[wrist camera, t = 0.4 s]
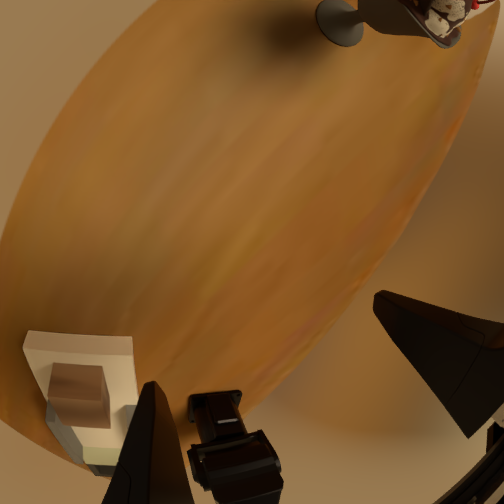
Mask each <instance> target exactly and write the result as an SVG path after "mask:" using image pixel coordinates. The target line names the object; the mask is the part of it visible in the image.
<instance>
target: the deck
mask: <svg viewBox="0 0 504 504" xmlns="http://www.w3.org/2000/svg"><path fill="white" fill-rule="evenodd" d="M22 349H23V351H24V354H25V356H26V359H27V361H28V363H29V366H30V368H31V370H32V372H33V375H34V377H35V379H36V381H37V383H38V385H39V387H40V389H41V391H42V393H43V395H44V397H45V399H46V401H48V397H47V394H48V388H49V382H50V376H51V371H52V366H53V362H55V363H66V364H79V365H96V366H102V367H103V371H104V375H105V380H106V384H107V388H108V391H109V395H110V419H111V429H102V428H86V427H75V426H71V427H72V429H73V431H74V433H75V434H76V436H77V438H78V439H79V441H80V443H81V444H82V446H83V460H84V461H85V463H86V464H95V465H113V466H116V464H117V462H119V461H118V458H119V455H120V452H121V449H122V446H123V443H124V439H125V437H126V434H127V431H128V429H127V419H126V406H125V405H137V402H138V399H139V395H138V388H137V381H136V372H135V364H134V354H133V342H132V336H99V335H80V334H65V333H53V332H42V331H32V330H28V333H27V335H26V338H25V341H24V344H23V347H22Z"/></svg>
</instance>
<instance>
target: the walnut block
mask: <svg viewBox="0 0 504 504" xmlns="http://www.w3.org/2000/svg"><path fill="white" fill-rule="evenodd" d="M47 397H48V399H49V401H50V403H51V405H52V406H53V408H54V410H55V412H56V414H57V416H58V417H59V419H60V421H61V422H62V424H63V425H65V426H75V427H86V428H102V429H111V419H110V395H109V391H108V388H107V384H106V380H105V375H104V371H103V367H102V366H96V365H79V364H66V363H55V362H53V366H52V371H51V376H50V382H49V388H48V394H47Z"/></svg>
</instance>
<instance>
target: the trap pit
mask: <svg viewBox="0 0 504 504" xmlns="http://www.w3.org/2000/svg"><path fill="white" fill-rule="evenodd" d="M87 465H88V467H89V468H90V469H91V471H92V472H93V473H94V475H95V476H105V477H112V476H113V473H114V470H115V467H116V466H113V465H95V464H87Z"/></svg>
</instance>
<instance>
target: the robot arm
mask: <svg viewBox="0 0 504 504" xmlns="http://www.w3.org/2000/svg"><path fill="white" fill-rule="evenodd" d="M373 311H374V314H375V315H376V317H377V318H378V319H379V321H380V323H381V324H382V326H383V327H384V329H385V330H386V332H387V333H388V335H389V336H390V338H391V339H392V341H393V342H394V343H395V344H396V346H397V347H398V348H399V349H400V351H401V352H402V353H403V354H404V355H405V357H406V358H407V359H408V360H409V362H410V363H411V364H412V365H413V367H414V368H415V369H416V370H417V372H418V373H419V374H420V375H421V377H422V378H423V379H424V381H425V382H426V383H427V385H428V386H429V387H430V388H431V390H432V391H433V392H434V394H435V395H436V396H437V397H438V399H439V400H440V402H441V403H442V404H443V405H444V406H445V408H446V410H447V411H448V412H449V414H450V415H451V417H452V418H453V419H454V421H455V422H456V423H457V425H458V426H459V428H460V429H461V430H462V432H463V433H464V435H465V436H466V437H467V438H468V439H469V438H470V437H471V436H472V435H473V434H474V433H475V432H476V431H477V430H478V429H479V428H481V426H482V425H484V424H485V423H486V421H487V420H488V419H489V418H490V417H492V418H493V419H494V420H495V421H494V423H493V424H492V425H491V426H490V427H489V428H488V429H487V446H486V454H485V456H484V457H483V458H482V459H481V460H480V461H479V462H478V463H477V464H476V465H475V466H474V467H473V468H472V469H471V470H470V471H469V472H468V473H467V474H466V475H465V476H464V477H463V478H462V479H461V480H460V481H459V482H458V483H457V484H455V485H454V486H453V487H452V488H451V489H450V490H449V491H448V492H446V493H445V494H444V495H443V496H442V497H440V498H439V499H438V500H437V501H435V502H434V503H433V504H504V323H499V322H494V321H490V320H485V319H480V318H476V317H472V316H469V315H465V314H462V313H458V312H455V311H452V310H448V309H445V308H442V307H438V306H435V305H432V304H429V303H425V302H422V301H419V300H416V299H412V298H409V297H406V296H403V295H399V294H396V293H393V292H389V291H386V290H381V291H379V292H377V293H376V294H375V295H374V302H373ZM241 397H242V392H241V391H240V390H237V391H229V392H220V393H210V394H198V395H192V396H191V397H190V407H189V422H190V423H196V425H197V429H198V433H199V436H200V440H201V443H202V444H196V445H195V444H192V445H191V448H192V449H190V450H188V451H187V454H188V458H189V462H190V466H191V471H192V475H193V479H194V481H195V482H197V483H199V484H200V485H201V486H203V488H204V491H209V490H211V491H212V494H213V497H214V500H215V503H216V504H279V500H280V495H281V490H282V489H283V483H284V481H283V479H282V477H281V475H280V472H281V464H280V461H279V458H278V456H277V454H276V452H275V450H274V448H273V447H272V445H271V444H270V442H269V440H268V439H267V437H266V436H265V434H264V432H263V431H262V430H258V431H256V432H252V433H247V430H246V428H245V425H244V423H243V420H242V418H241V415H240V413H239V410H238V406H239V403H240V400H241ZM118 461H119V462H117V464H116V467H115V470H114V473H113V476H112V479H111V482H110V484H109V487H108V489H107V492H106V494H105V496H104V499H103V501H102V503H101V504H195V503H194V500H193V496H192V493H191V489H190V486H189V481H188V478H187V474H186V469H185V465H184V461H183V457H182V452H181V448H180V443H179V438H178V434H177V430H176V427H175V424H174V421H173V418H172V414H171V411H170V408H169V405H168V401H167V398H166V395H165V393H164V392H163V390H162V389H161V388H160V386H159V385H158V384H157V382H156V381H151V382H147V383H145V384H144V386H143V388H142V391H141V394H140V396H139V399H138V402H137V405H136V408H135V410H134V413H133V416H132V419H131V422H130V425H129V428H128V431H127V434H126V437H125V439H124V443H123V446H122V449H121V452H120V455H119V458H118ZM200 461H202V462H200Z"/></svg>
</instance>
